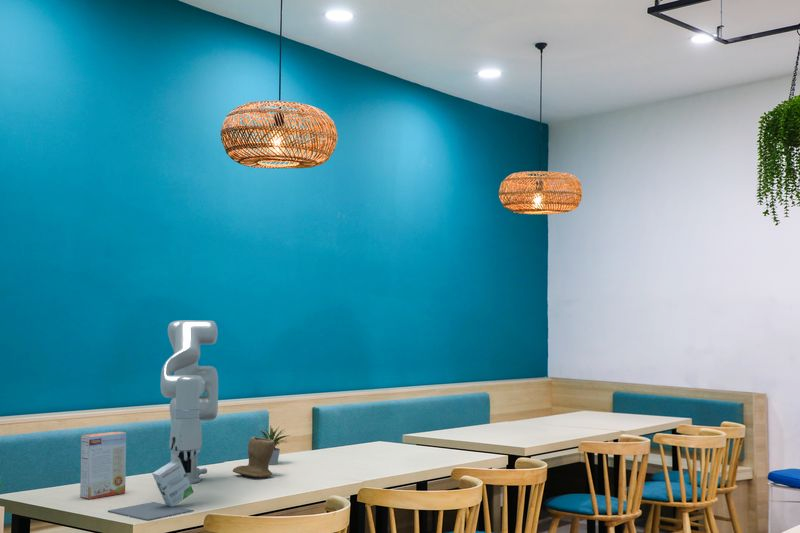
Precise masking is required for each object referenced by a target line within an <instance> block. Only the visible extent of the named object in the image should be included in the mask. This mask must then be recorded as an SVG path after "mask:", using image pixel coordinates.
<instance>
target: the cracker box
mask: <svg viewBox="0 0 800 533" xmlns="http://www.w3.org/2000/svg"><path fill="white" fill-rule="evenodd" d="M80 438H81V439H80V483H79V484H80V486H79V488H80V491H79V492H80V494H79V496H80V498H82V499H87V500H92V499H99V498H104V497H109V496H117V495H123V494H126V476H127V475H126V474H127V473H126V472H127V470H126V468H127V467H126V465H127V463H126V462H127V432H124V431H119V430H118V431H110V432H108V431H107V432H99V433H90V434H83V435H81V436H80Z"/></svg>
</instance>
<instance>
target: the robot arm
mask: <svg viewBox="0 0 800 533" xmlns="http://www.w3.org/2000/svg"><path fill="white" fill-rule="evenodd" d="M218 334H219V333H218V326H217V323H216V322H215V321H214V320H189V319H187V320H185V319H184V320H183V319H182V320H174V321H172V322H170V323H169V324H168V327H167V336H168V338H169V340H168V341H169V342H170V344H171V345H170V346H171V347H172V350H173V354H172V355H171V356H169V358H168V359H167V360H166V361H165V362H164V364H163V366H162V368H161V373H160V392H161V395H162V396H163V397H164V398H167V399H171V400H170V402H169V415H170V423H171V424H170V425H171V426H170V427H171V428H170V432H169V433H170V434H169V450H170V462H171V461H173V460H177V461H180V462H181V463H182V465H183V468H184V470H185V472H186V475H187V477H188V479H189V482H190V484H191V485H192V484H196V483H199V482H201V481H202V477H201V475H204V474H208V469H207V468H206V467H205V468H200V467H198V454H199V453H200V452H201V448H202V446H203V430H202V422H210V421H214V420H215V419H216V418H217V416H218V410H219V376H218V371H217V368H216V367H214V366H211V365H207V366H206V365H202V366H201V365H199V363H198V362H199V360H200V358H201V345H214V344H216V342H217V339H218V336H219V335H218ZM173 373H174V374H173ZM203 393H205V395H203Z"/></svg>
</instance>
